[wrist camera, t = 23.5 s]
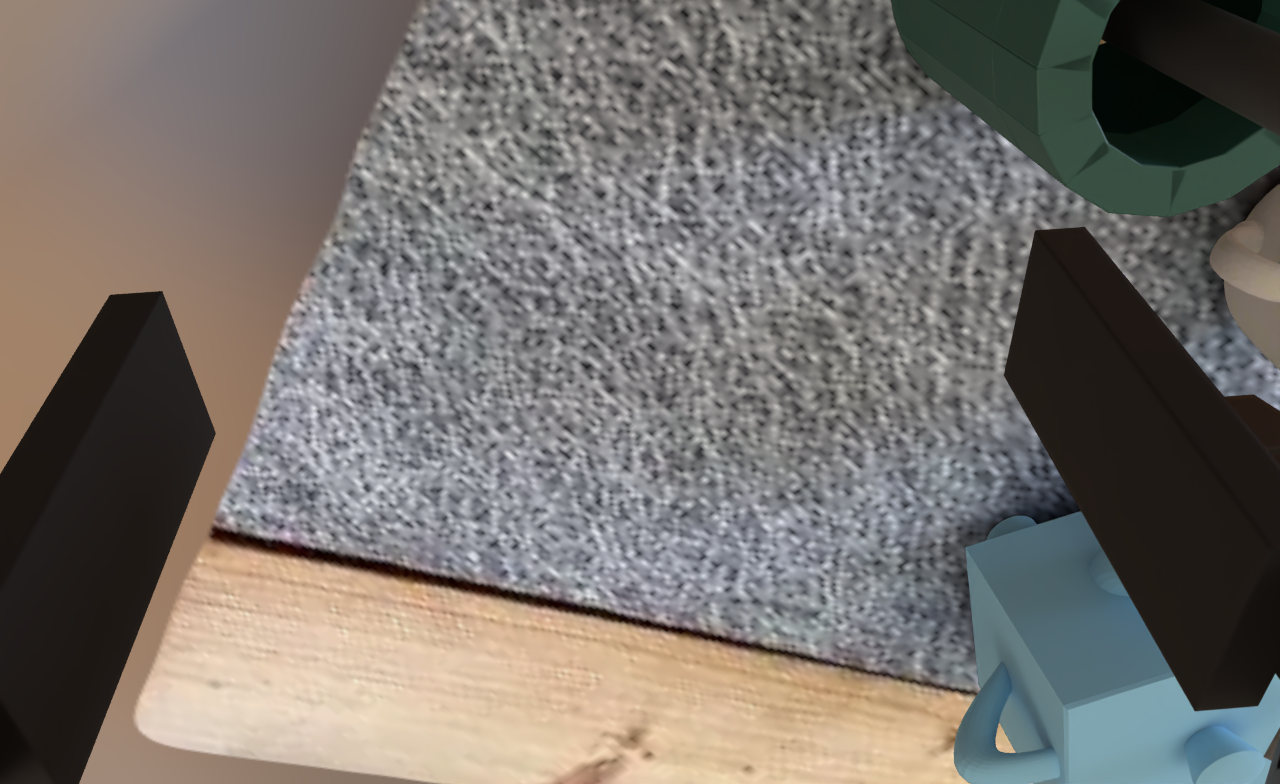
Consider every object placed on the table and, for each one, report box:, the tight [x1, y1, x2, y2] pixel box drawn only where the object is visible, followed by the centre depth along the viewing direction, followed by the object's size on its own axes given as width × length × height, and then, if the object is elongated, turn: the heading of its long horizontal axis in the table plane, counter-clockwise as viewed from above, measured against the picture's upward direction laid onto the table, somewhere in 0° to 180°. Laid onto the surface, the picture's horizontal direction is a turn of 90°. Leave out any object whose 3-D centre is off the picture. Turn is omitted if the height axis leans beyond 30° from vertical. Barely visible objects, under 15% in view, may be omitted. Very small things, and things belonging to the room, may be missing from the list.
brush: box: [1099, 0, 1280, 136], centre depth 33 cm, size 3×3×16 cm
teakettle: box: [954, 511, 1280, 784], centre depth 55 cm, size 19×19×15 cm
